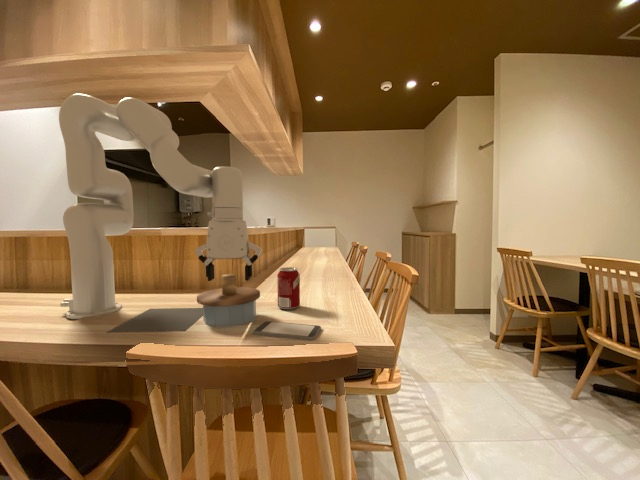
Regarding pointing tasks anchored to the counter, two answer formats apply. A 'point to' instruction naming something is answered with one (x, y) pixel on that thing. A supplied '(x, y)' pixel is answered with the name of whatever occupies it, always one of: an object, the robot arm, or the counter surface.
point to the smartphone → (288, 330)
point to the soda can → (288, 288)
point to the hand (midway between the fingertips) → (229, 279)
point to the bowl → (229, 314)
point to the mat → (161, 320)
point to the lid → (228, 294)
